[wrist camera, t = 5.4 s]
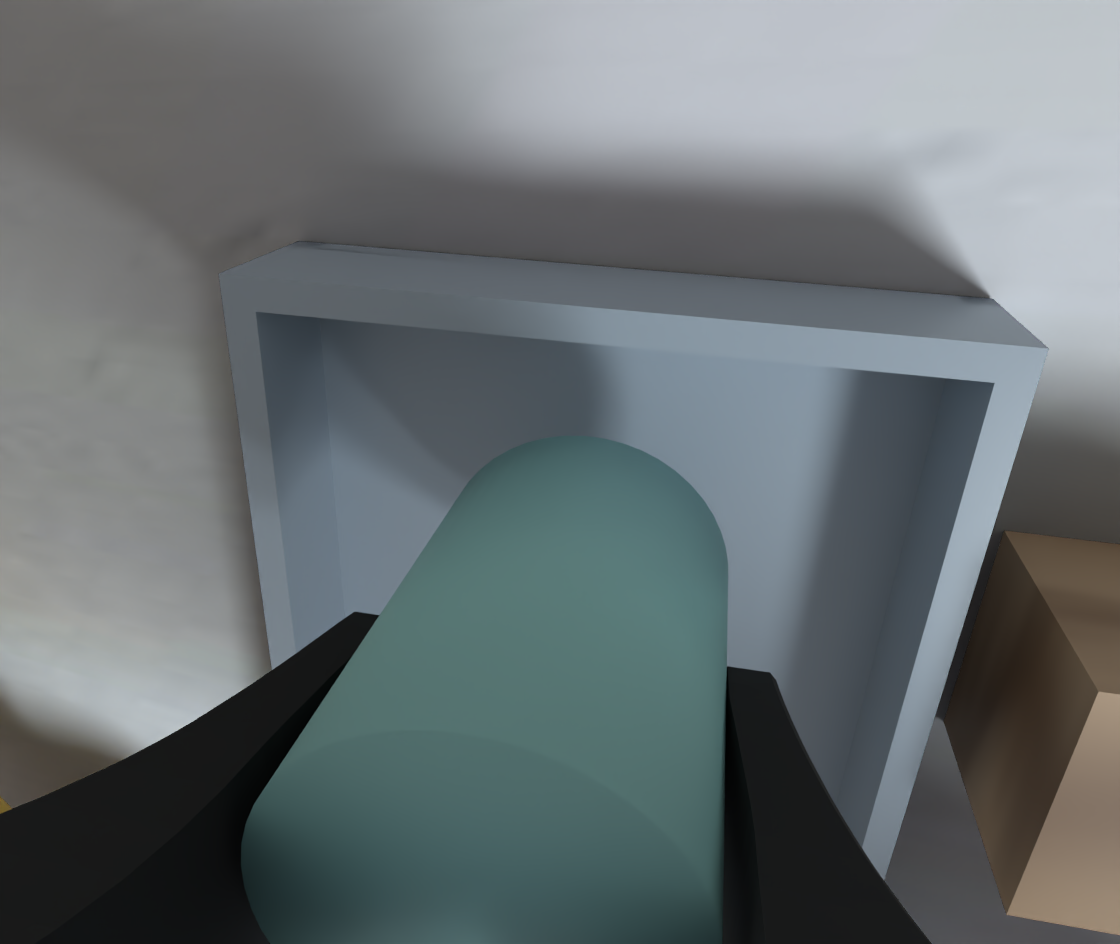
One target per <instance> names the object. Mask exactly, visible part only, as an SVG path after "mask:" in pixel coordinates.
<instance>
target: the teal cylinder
mask: <svg viewBox="0 0 1120 944" xmlns="http://www.w3.org/2000/svg"><path fill="white" fill-rule="evenodd" d="M727 624H728V559H727V552H726V546H725V543H724V540H723V536H722V533H721V530H720V528H719V526H718V524H717V522H716V519H715V517H714V515H713V513H712V512H711V510H710V509H709V507H708V506H707V504H706V503H705V501H704V500H703V498H702V497H701V496H700V495H699V494H698V492H697V491H696V490H695V489H694V488H693V487H692V485H691V484H690V483H689V482H687V481H686V480H685V479H684V478H683V477H682V476H681V475H680V474H679V473H677V472H676V471H675V470H674V469H672V468H671V467H669V466H668V465H666V464H665V463H663V462H662V461H661V460H659V459H657V458H655V457H653V456H651V455H649V454H648V453H646V452H644V451H642V450H639V449H637V448H634V447H631V446H629V445H626V444H624V443H620V442H616V441H612V440H608V439H604V438H597V437H589V436H557V437H549V438H543V439H539V440H535V441H531V442H527V443H524V444H522V445H519V446H517V447H515V448H512V449H510V450H508V451H506V452H504V453H503V454H501V455H499V456H497V457H496V458H494V459H493V460H491V461H490V462H489V463H488V464H486V465H485V466H484V467H482V468H481V469H480V470H479V471H478V472H477V473H476V474H475V475H474V476H473V477H472V479H471V480H470V481H469V482H468V483H467V485H466V486H465V488H464V489H463V491H462V492H461V493H460V495H459V496H458V498H457V499H456V501H455V502H454V504H453V505H452V507H451V508H450V510H449V511H448V513H447V514H446V516H445V518H444V519H443V521H442V522H441V524H440V525H439V527H438V528H437V530H436V531H435V533H434V534H433V536H432V537H431V539H430V540H429V542H428V543H427V545H426V546H425V548H424V549H423V551H422V552H421V554H420V555H419V557H418V558H417V560H416V561H415V563H414V564H413V566H412V567H411V569H410V570H409V572H408V573H407V575H406V576H405V578H404V579H403V581H402V582H401V584H400V585H399V587H398V588H397V590H396V591H395V593H394V594H393V596H392V597H391V599H390V600H389V602H388V603H387V605H386V606H385V608H384V609H383V611H382V612H381V614H380V615H379V617H378V618H377V620H376V621H375V623H374V624H373V626H372V627H371V629H370V630H369V632H368V633H367V635H366V636H365V638H364V639H363V641H362V642H361V644H360V645H359V647H358V648H357V650H356V651H355V653H354V654H353V656H352V657H351V659H350V660H349V662H348V663H347V665H346V666H345V668H344V669H343V671H342V672H341V674H340V675H339V677H338V678H337V680H336V681H335V683H334V684H333V686H332V687H331V689H330V690H329V692H328V693H327V695H326V696H325V698H324V700H323V701H322V703H321V704H320V706H319V707H318V709H317V710H316V712H315V713H314V715H313V716H312V718H311V719H310V721H309V722H308V724H307V725H306V727H305V728H304V730H303V731H302V733H301V734H300V736H299V737H298V739H297V740H296V742H295V743H294V745H293V746H292V748H291V749H290V751H289V752H288V754H287V755H286V757H285V758H284V760H283V761H282V763H281V764H280V766H279V767H278V769H277V770H276V772H275V773H274V775H273V776H272V778H271V779H270V781H269V782H268V784H267V785H266V787H265V788H264V790H263V791H262V793H261V794H260V796H259V797H258V799H257V800H256V802H255V803H254V805H253V808H252V810H251V812H250V815H249V817H248V819H247V822H246V824H245V829H244V834H243V838H242V843H241V869H242V876H243V882H244V888H245V891H246V894H247V897H248V900H249V903H250V906H251V909H252V911H253V913H254V915H255V918H256V920H257V922H258V924H259V926H260V928H261V930H262V931H263V933H264V935H265V936H266V938H267V939H268V941H269V942H270V944H722V943H723V879H724V815H725V752H726V685H727Z"/></svg>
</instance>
